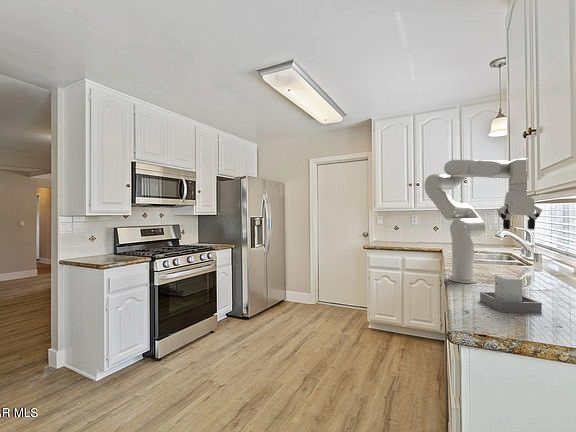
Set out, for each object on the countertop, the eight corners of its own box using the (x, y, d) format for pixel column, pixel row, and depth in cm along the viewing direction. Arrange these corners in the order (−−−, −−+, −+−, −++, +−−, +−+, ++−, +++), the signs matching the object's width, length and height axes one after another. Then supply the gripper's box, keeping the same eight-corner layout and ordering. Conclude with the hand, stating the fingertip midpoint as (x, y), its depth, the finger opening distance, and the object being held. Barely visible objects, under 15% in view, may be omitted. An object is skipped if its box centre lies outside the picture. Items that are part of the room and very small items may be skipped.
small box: (522, 308, 112) (522, 279, 112) (505, 308, 113) (506, 279, 112) (509, 302, 120) (510, 274, 120) (494, 301, 121) (494, 274, 120)
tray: (480, 300, 123) (480, 292, 123) (516, 301, 122) (516, 292, 122) (500, 312, 110) (501, 302, 110) (541, 312, 109) (541, 302, 109)
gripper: (535, 189, 134) (534, 228, 135) (493, 189, 136) (492, 228, 136) (548, 188, 127) (547, 229, 127) (503, 188, 128) (502, 229, 129)
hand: (518, 229), depth 132 cm, fingers open, 9 cm apart
